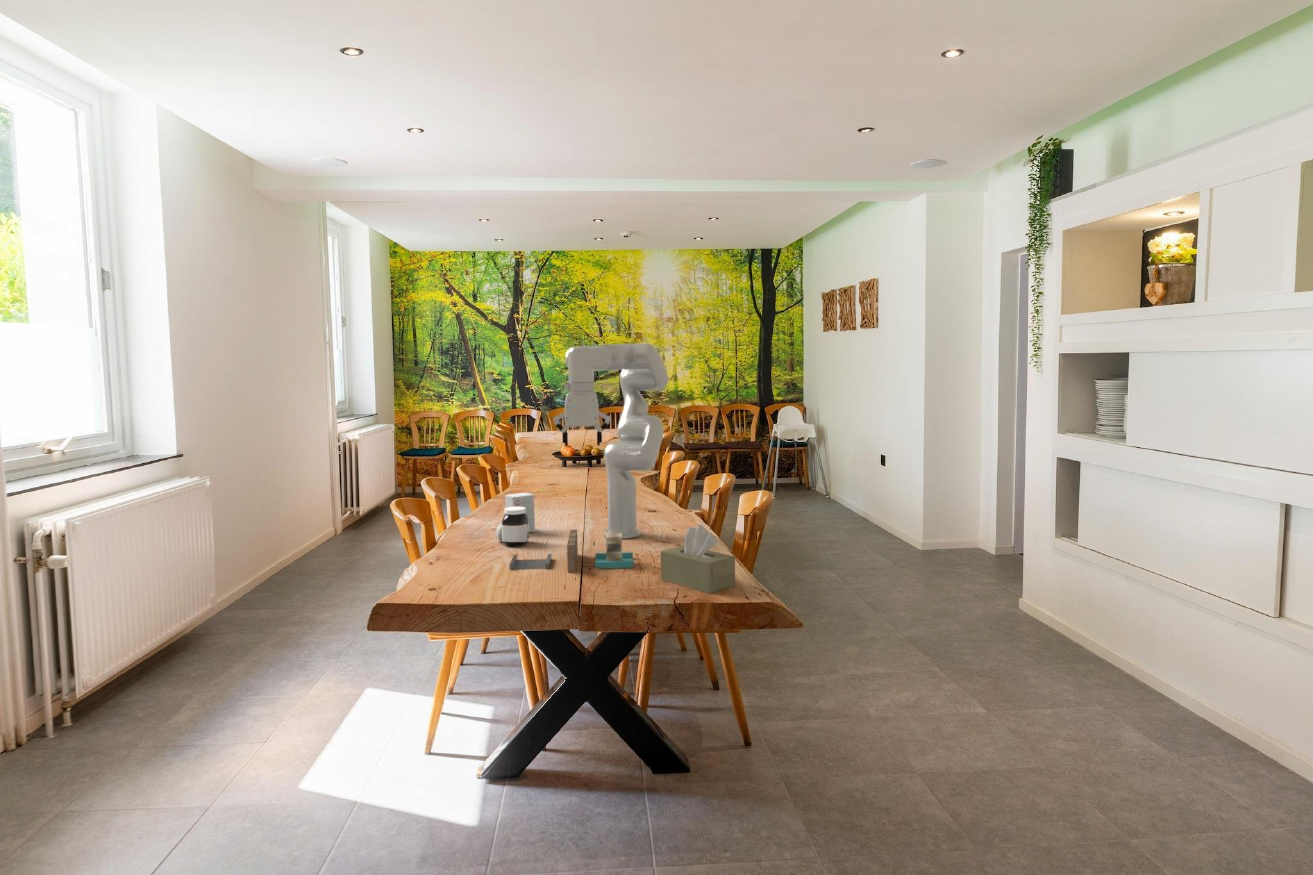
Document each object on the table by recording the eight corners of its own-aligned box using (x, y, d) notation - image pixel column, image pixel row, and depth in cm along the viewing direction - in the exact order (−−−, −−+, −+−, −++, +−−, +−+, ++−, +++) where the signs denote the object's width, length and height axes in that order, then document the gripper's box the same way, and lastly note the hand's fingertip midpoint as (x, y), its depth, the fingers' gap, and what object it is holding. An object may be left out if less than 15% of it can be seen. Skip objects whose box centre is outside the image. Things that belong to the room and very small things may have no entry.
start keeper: (514, 560, 240) (514, 554, 240) (551, 559, 241) (551, 554, 241) (509, 570, 230) (509, 564, 229) (548, 569, 230) (548, 563, 230)
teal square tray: (595, 568, 231) (594, 562, 231) (595, 558, 242) (595, 552, 242) (633, 567, 231) (633, 561, 231) (632, 558, 242) (632, 552, 242)
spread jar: (522, 548, 257) (521, 511, 256) (488, 547, 259) (487, 510, 258) (534, 539, 269) (533, 504, 267) (501, 538, 270) (500, 504, 269)
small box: (526, 528, 285) (525, 492, 284) (535, 531, 280) (534, 494, 279) (505, 531, 281) (504, 494, 279) (514, 535, 276) (513, 497, 274)
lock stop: (606, 565, 233) (606, 537, 232) (606, 559, 240) (606, 532, 239) (622, 565, 233) (621, 537, 232) (622, 559, 240) (621, 532, 239)
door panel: (571, 555, 246) (570, 529, 245) (577, 555, 246) (577, 529, 245) (567, 573, 226) (567, 545, 225) (574, 573, 226) (574, 544, 225)
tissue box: (736, 586, 212) (736, 527, 210) (710, 594, 205) (710, 532, 204) (685, 573, 226) (685, 517, 224) (659, 580, 219) (659, 522, 218)
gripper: (551, 389, 239) (552, 447, 241) (610, 388, 240) (611, 446, 241) (553, 388, 246) (554, 444, 248) (610, 387, 247) (611, 443, 249)
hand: (582, 445), depth 245 cm, fingers open, 9 cm apart
